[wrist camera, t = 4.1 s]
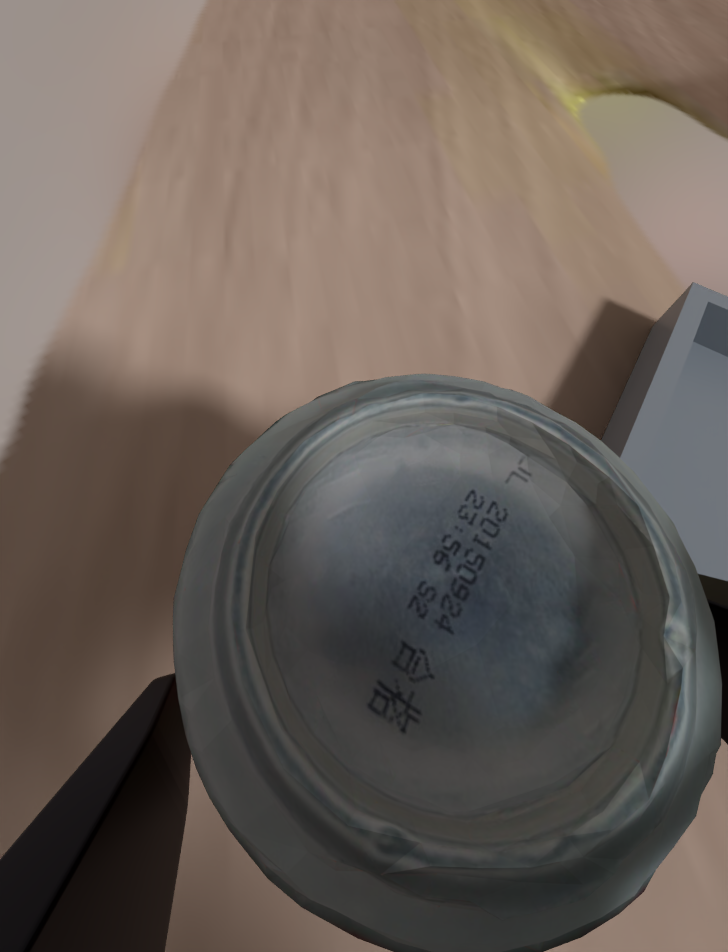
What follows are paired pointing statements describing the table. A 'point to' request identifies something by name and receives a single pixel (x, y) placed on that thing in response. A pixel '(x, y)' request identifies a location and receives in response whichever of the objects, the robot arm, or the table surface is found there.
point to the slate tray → (682, 423)
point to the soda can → (446, 667)
